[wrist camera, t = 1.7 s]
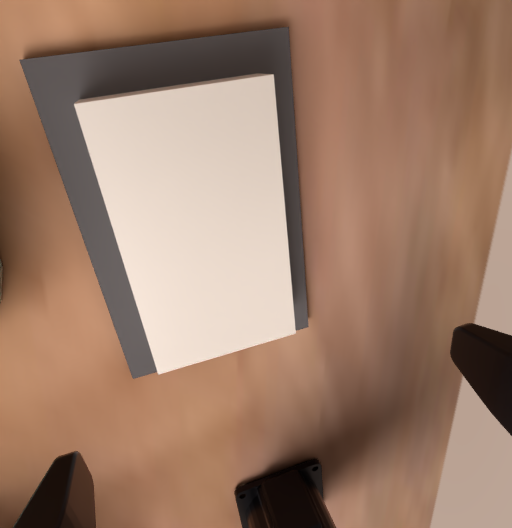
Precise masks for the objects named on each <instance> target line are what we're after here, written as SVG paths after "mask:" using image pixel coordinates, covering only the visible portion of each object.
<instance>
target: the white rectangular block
mask: <svg viewBox="0 0 512 528" xmlns="http://www.w3.org/2000/svg"><path fill="white" fill-rule="evenodd" d="M74 106H75V109H76V113H77V116H78V119H79V122H80V125H81V129H82V132H83V135H84V138H85V141H86V145H87V148H88V151H89V154H90V157H91V161H92V164H93V167H94V170H95V173H96V177H97V180H98V183H99V186H100V189H101V193H102V196H103V199H104V202H105V205H106V209H107V212H108V215H109V218H110V221H111V225H112V228H113V231H114V234H115V237H116V241H117V244H118V247H119V250H120V253H121V257H122V260H123V263H124V266H125V269H126V273H127V276H128V279H129V282H130V285H131V289H132V292H133V295H134V298H135V301H136V305H137V308H138V311H139V314H140V317H141V321H142V324H143V327H144V330H145V333H146V337H147V340H148V343H149V346H150V349H151V353H152V356H153V359H154V362H155V365H156V369H157V372H158V374H162V373H165V372H168V371H172V370H175V369H178V368H182V367H185V366H189V365H192V364H195V363H199V362H202V361H205V360H209V359H212V358H215V357H219V356H222V355H225V354H229V353H232V352H235V351H239V350H242V349H246V348H249V347H252V346H256V345H259V344H262V343H266V342H269V341H272V340H276V339H279V338H282V337H286V336H289V335H292V334H296V329H295V318H294V306H293V294H292V283H291V271H290V259H289V248H288V236H287V224H286V213H285V201H284V189H283V178H282V166H281V154H280V143H279V131H278V119H277V108H276V96H275V84H274V74H259V73H257V74H250V75H243V76H236V77H229V78H223V79H216V80H209V81H202V82H195V83H188V84H182V85H175V86H168V87H161V88H154V89H148V90H141V91H134V92H127V93H120V94H114V95H107V96H100V97H93V98H86V99H79V100H78V101H77V102H76V103H74Z"/></svg>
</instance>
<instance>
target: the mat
mask: <svg viewBox="0 0 512 528" xmlns="http://www.w3.org/2000/svg"><path fill="white" fill-rule="evenodd" d="M20 63H21V65H22V68H23V71H24V74H25V77H26V79H27V82H28V85H29V88H30V91H31V94H32V96H33V99H34V102H35V105H36V108H37V110H38V113H39V116H40V119H41V122H42V124H43V127H44V130H45V133H46V136H47V139H48V141H49V144H50V147H51V150H52V153H53V155H54V158H55V161H56V164H57V167H58V169H59V172H60V175H61V178H62V181H63V184H64V186H65V189H66V192H67V195H68V198H69V200H70V203H71V206H72V209H73V212H74V214H75V217H76V220H77V223H78V226H79V229H80V231H81V234H82V237H83V240H84V243H85V245H86V248H87V251H88V254H89V257H90V259H91V262H92V265H93V268H94V271H95V274H96V276H97V279H98V282H99V285H100V288H101V290H102V293H103V296H104V299H105V302H106V304H107V307H108V310H109V313H110V316H111V319H112V321H113V324H114V327H115V330H116V333H117V335H118V338H119V341H120V344H121V347H122V349H123V352H124V355H125V358H126V361H127V364H128V366H129V369H130V372H131V375H132V378H133V379H135V378H138V377H141V376H145V375H148V374H151V373H155V372H157V369H156V365H155V362H154V359H153V356H152V353H151V349H150V346H149V343H148V340H147V337H146V333H145V330H144V327H143V324H142V321H141V317H140V314H139V311H138V308H137V305H136V301H135V298H134V295H133V292H132V289H131V285H130V282H129V279H128V276H127V273H126V269H125V266H124V263H123V260H122V257H121V253H120V250H119V247H118V244H117V241H116V237H115V234H114V231H113V228H112V225H111V221H110V218H109V215H108V212H107V209H106V205H105V202H104V199H103V196H102V193H101V189H100V186H99V183H98V180H97V177H96V173H95V170H94V167H93V164H92V161H91V157H90V154H89V151H88V148H87V145H86V141H85V138H84V135H83V132H82V129H81V125H80V122H79V119H78V116H77V113H76V109H75V106H74V103H76V102H77V101H78V100H79V99H86V98H93V97H100V96H107V95H114V94H120V93H127V92H134V91H141V90H148V89H154V88H161V87H168V86H175V85H182V84H188V83H195V82H202V81H209V80H216V79H223V78H229V77H236V76H243V75H250V74H257V73H259V74H274V84H275V96H276V108H277V119H278V131H279V143H280V154H281V166H282V178H283V189H284V201H285V213H286V224H287V236H288V248H289V259H290V271H291V283H292V294H293V306H294V318H295V329H296V330H300V329H303V328H306V327H308V313H307V298H306V283H305V268H304V253H303V238H302V222H301V207H300V192H299V177H298V162H297V147H296V132H295V116H294V101H293V86H292V71H291V56H290V41H289V27H283V28H275V29H267V30H259V31H251V32H242V33H234V34H226V35H218V36H210V37H202V38H194V39H185V40H177V41H169V42H161V43H153V44H145V45H137V46H128V47H120V48H112V49H104V50H96V51H88V52H80V53H71V54H63V55H55V56H47V57H39V58H31V59H23V60H20Z"/></svg>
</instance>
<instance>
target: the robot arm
mask: <svg viewBox="0 0 512 528" xmlns="http://www.w3.org/2000/svg"><path fill="white" fill-rule="evenodd" d="M450 355H451V358H452V360H453V362H454V364H455V365H456V366H457V368H458V369H459V370H460V372H461V373H462V374H463V376H464V377H465V378H466V380H467V381H468V382H469V384H470V385H471V386H472V388H473V389H474V391H475V392H476V393H477V395H478V396H479V397H480V399H481V400H482V401H483V403H484V404H485V405H486V406H487V408H488V409H489V410H490V412H491V413H492V414H493V415H494V416H495V418H496V419H497V420H498V421H499V422H500V423H501V425H502V426H503V427H504V428H505V429H506V430H507V431H508V432H509V433H510V435H511V436H512V336H511V335H508V334H504V333H501V332H498V331H495V330H492V329H489V328H486V327H482V326H479V325H476V324H472V323H468V324H465V325H461V326H458V327H456V328H455V329H454V331H453V337H452V343H451V350H450ZM234 494H235V498H236V503H237V507H238V511H239V515H240V520H241V524H242V528H336V526H335V524H334V522H333V520H332V518H331V516H330V514H329V511H328V509H327V507H326V505H325V503H324V501H323V486H322V469H321V464H320V462H319V460H317V459H313V460H310V461H308V462H305V463H302V464H300V465H297V466H294V467H292V468H289V469H286V470H284V471H281V472H278V473H276V474H273V475H270V476H268V477H265V478H262V479H260V480H257V481H254V482H252V483H249V484H246V485H244V486H241V487H239V488H237V489H236V490H235V492H234ZM13 528H96V520H95V501H94V485H93V479H92V476H91V474H90V472H89V470H88V468H87V466H86V464H85V462H84V460H83V458H82V456H81V454H80V453H79V452H78V451H74V452H71V453H68V454H65V455H62V456H59V457H57V458H56V459H55V460H54V462H53V463H52V465H51V466H50V468H49V470H48V471H47V473H46V474H45V476H44V478H43V479H42V481H41V483H40V484H39V486H38V487H37V489H36V491H35V492H34V494H33V496H32V497H31V499H30V500H29V502H28V504H27V505H26V507H25V509H24V510H23V512H22V513H21V515H20V517H19V518H18V520H17V522H16V523H15V525H14V526H13Z"/></svg>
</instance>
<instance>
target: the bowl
mask: <svg viewBox="0 0 512 528" xmlns="http://www.w3.org/2000/svg"><path fill="white" fill-rule="evenodd" d="M2 271H3V265H2V262H1V260H0V303H1V300H2Z"/></svg>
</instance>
